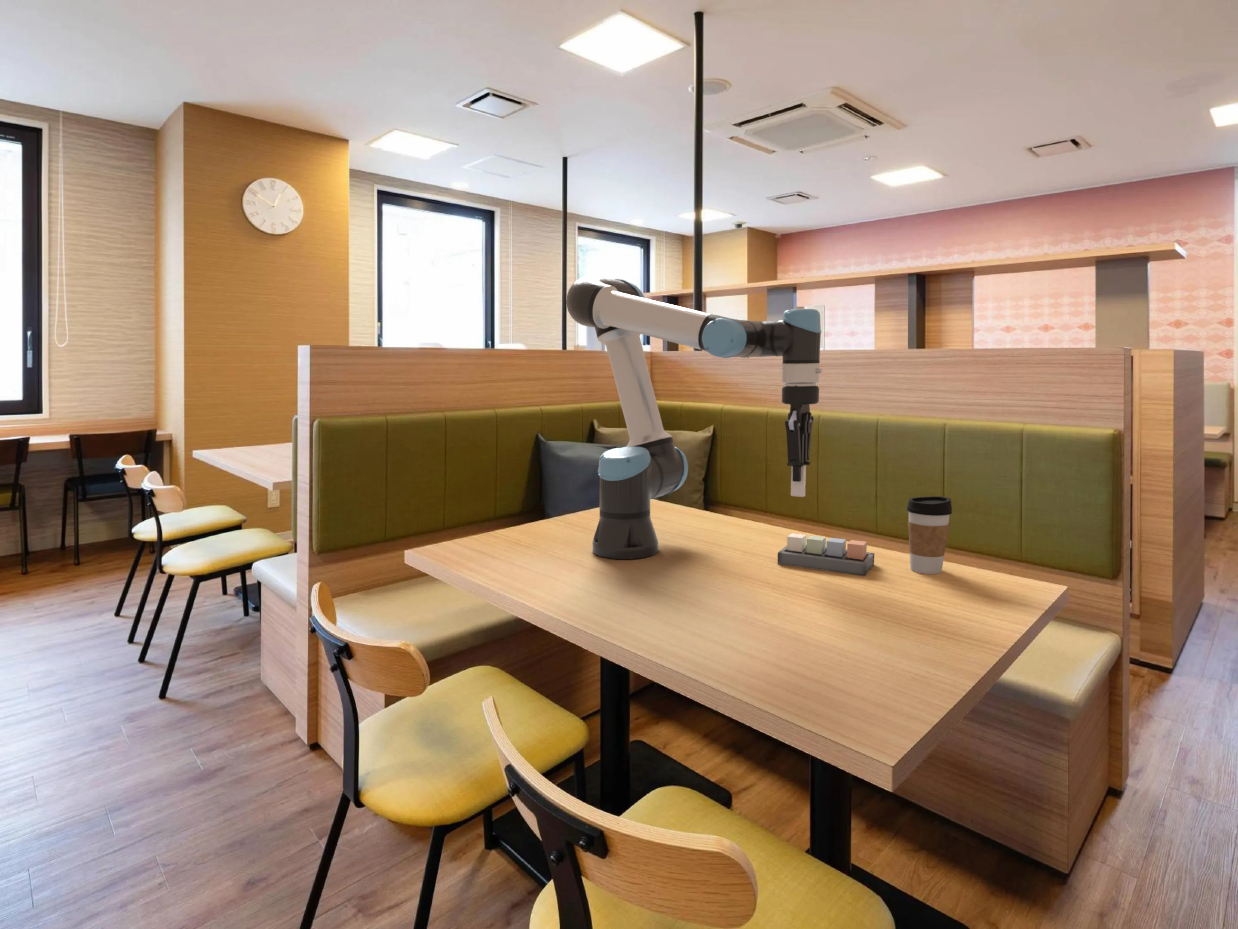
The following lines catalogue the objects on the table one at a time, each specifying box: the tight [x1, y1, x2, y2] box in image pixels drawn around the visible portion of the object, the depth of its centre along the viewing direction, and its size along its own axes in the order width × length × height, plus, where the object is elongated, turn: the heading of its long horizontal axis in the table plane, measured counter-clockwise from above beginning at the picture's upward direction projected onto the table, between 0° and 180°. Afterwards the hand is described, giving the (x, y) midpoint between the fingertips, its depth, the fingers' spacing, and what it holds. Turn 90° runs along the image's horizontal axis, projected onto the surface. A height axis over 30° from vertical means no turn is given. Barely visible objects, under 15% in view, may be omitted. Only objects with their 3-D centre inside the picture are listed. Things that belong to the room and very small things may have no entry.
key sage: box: [806, 535, 827, 554], centre depth 148 cm, size 3×3×3 cm
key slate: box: [826, 537, 847, 557], centre depth 146 cm, size 3×3×3 cm
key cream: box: [786, 532, 807, 552], centre depth 150 cm, size 3×3×3 cm
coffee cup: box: [906, 495, 953, 575], centre depth 141 cm, size 8×8×15 cm
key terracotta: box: [846, 539, 868, 560], centre depth 143 cm, size 3×3×3 cm
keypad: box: [777, 544, 875, 577], centre depth 147 cm, size 18×9×2 cm, turn 60°
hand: (798, 495), depth 148 cm, fingers closed
